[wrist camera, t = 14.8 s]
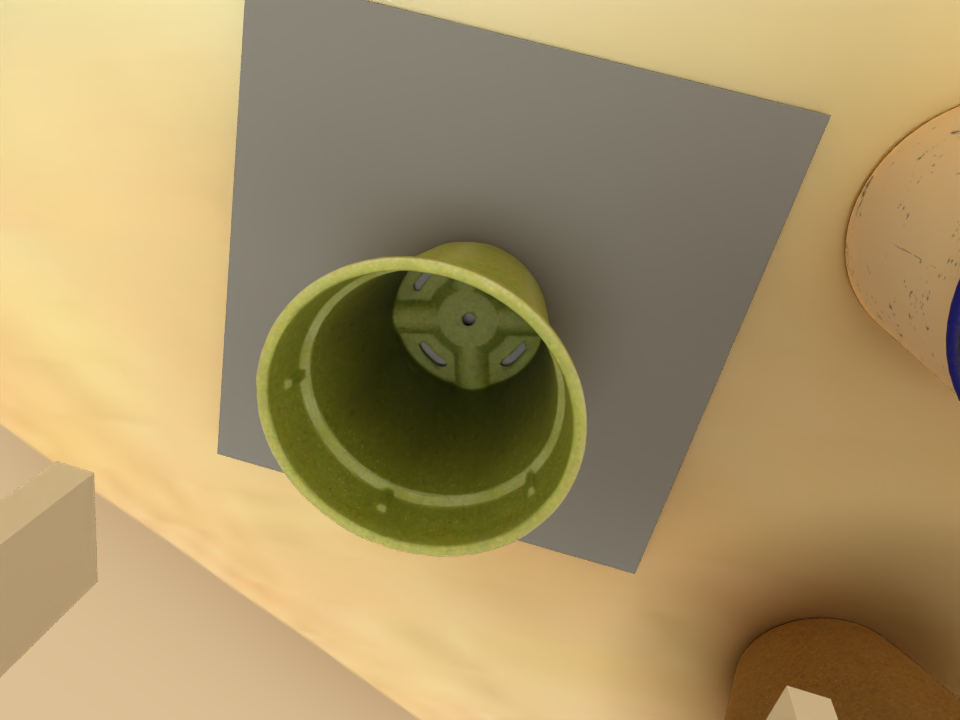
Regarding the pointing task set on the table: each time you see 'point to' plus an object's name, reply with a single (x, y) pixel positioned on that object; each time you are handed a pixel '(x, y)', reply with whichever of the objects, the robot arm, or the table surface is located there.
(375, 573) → the table surface
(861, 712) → the plant pot
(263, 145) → the charcoal mat
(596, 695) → the table surface
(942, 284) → the teacup with lid
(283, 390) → the plant pot
